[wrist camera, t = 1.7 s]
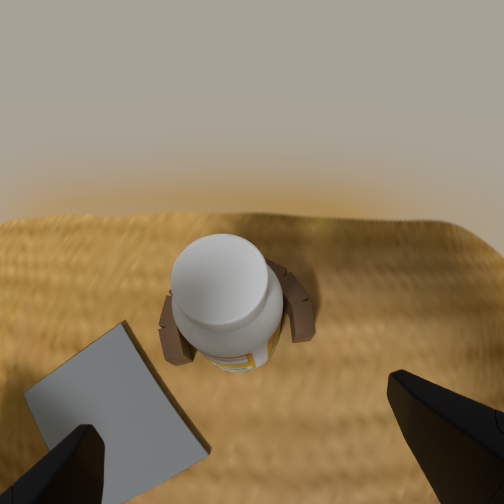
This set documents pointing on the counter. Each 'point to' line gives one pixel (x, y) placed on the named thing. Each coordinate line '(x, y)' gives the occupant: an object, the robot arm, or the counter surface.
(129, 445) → the mat
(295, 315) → the c ring
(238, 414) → the counter surface
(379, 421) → the counter surface
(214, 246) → the supplement bottle
